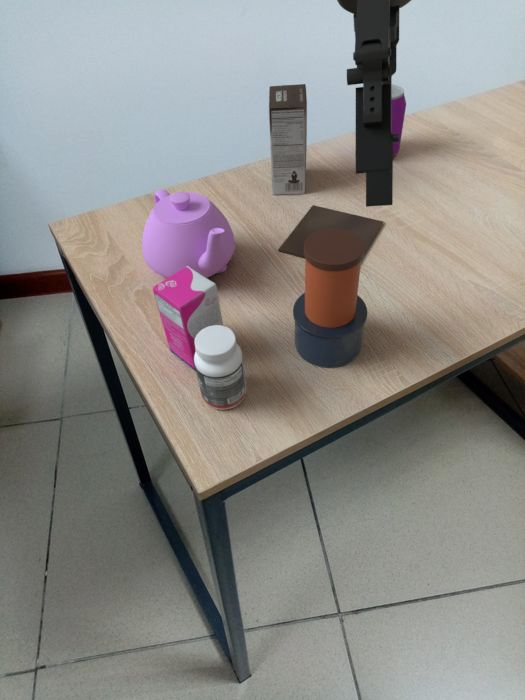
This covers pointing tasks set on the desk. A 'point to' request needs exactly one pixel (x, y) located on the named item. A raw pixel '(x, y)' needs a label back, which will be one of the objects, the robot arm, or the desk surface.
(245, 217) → the desk surface
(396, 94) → the beverage can
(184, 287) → the supplement box
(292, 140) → the coffee box
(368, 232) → the plate
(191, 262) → the teapot
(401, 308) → the desk surface
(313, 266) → the canister
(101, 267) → the desk surface
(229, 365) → the pill bottle
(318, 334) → the tin
